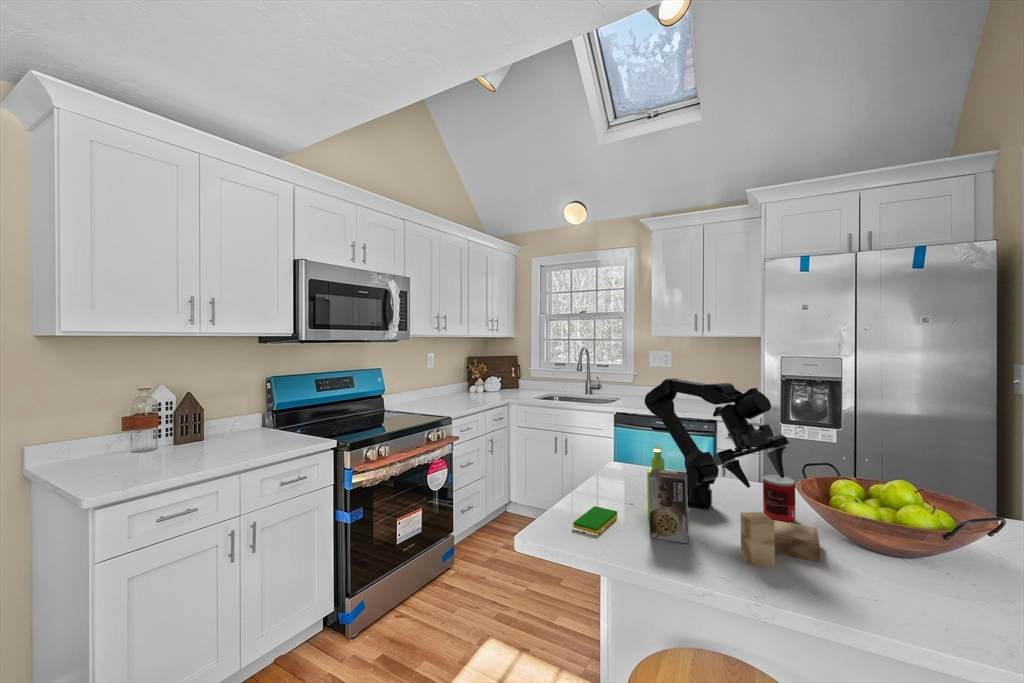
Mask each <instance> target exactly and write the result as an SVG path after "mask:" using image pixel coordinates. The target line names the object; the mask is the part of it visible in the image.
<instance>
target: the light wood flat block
mask: <svg viewBox="0 0 1024 683" xmlns="http://www.w3.org/2000/svg"><path fill="white" fill-rule="evenodd" d="M773 521H774V527H775V554H779V555H784V556H790V557H794V558H798V559H799V558H800V559H804V560H808V561H813V562H817V561H818V563H820V562H821V554H820V553H821V550H820V549H821V547H820V546H821V544H820V537H819V533H818V528H817V527H815V526H810V525H804V524H798V523H795V522H793V523H788V522H782V521H776V520H773Z"/></svg>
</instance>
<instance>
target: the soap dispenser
mask: <svg viewBox="0 0 1024 683" xmlns="http://www.w3.org/2000/svg"><path fill="white" fill-rule="evenodd" d="M662 449H663V448H662V446H659V445H658V446H656V445H654V447H653V450H652V451H653V452H652V453H653V454H654V456H653V457H651V468H648V469H647V470H646V472H647V473H646V476H647V478H646V481H647V482H646V484H647V486H646V487H647V518H648V519H649V518H650V510H649V479H648V476H649V474H650V472H651V470H652V469H658V470H666V469H665V459H664V458H663V457H662Z"/></svg>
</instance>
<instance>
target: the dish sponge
mask: <svg viewBox="0 0 1024 683" xmlns="http://www.w3.org/2000/svg"><path fill="white" fill-rule="evenodd" d="M616 518H617V519H618V510H614V509H609V508H604V507H599V506H596V505H595V506H592V507H591V508H590V509H589V510H588V511H586V512H585V513H583V514H582V515H581V516H580V517H578V518H577V519H575V520H574V521H573V522H572V524H573V525H572V528H573V527H574V528H577V529H580V530H583V531H587V532H590V533H594V534H599V533H600V532H601V531H602V530H603V529H605V528H606V527H607V526H608V525H609V524H610V523H612V522H613V521H614V520H615V519H616ZM617 519H616V520H617ZM616 520H615V521H616ZM615 521H614V522H615ZM614 522H613V523H614ZM613 523H612V524H613ZM610 525H611V524H610ZM610 525H609V526H610ZM609 526H608V527H609ZM608 527H607V528H608ZM607 528H606V529H607ZM606 529H605V530H606ZM599 535H600V534H599Z"/></svg>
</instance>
